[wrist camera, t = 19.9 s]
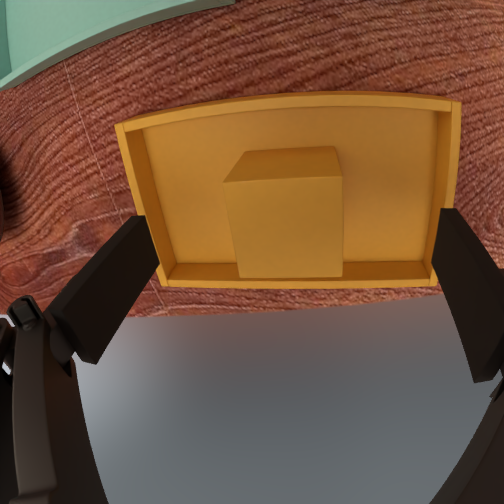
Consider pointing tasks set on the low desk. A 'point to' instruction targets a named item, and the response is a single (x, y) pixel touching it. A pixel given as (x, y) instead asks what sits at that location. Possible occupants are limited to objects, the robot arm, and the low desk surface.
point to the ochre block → (287, 213)
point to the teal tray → (73, 28)
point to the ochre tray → (297, 136)
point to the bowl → (1, 216)
